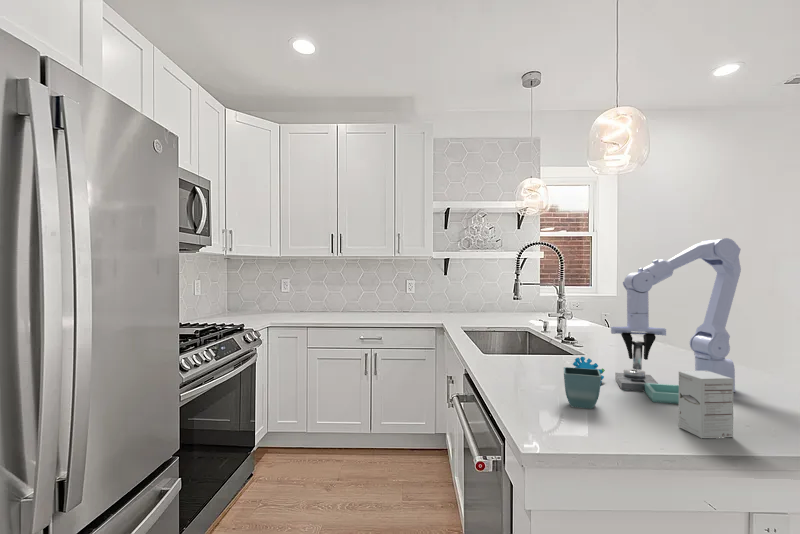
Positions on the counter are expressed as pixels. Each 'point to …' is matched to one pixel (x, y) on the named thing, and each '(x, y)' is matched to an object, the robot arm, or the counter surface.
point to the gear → (587, 365)
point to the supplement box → (706, 404)
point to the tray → (662, 393)
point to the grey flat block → (633, 379)
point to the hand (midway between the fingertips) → (638, 358)
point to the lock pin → (637, 354)
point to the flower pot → (582, 386)
